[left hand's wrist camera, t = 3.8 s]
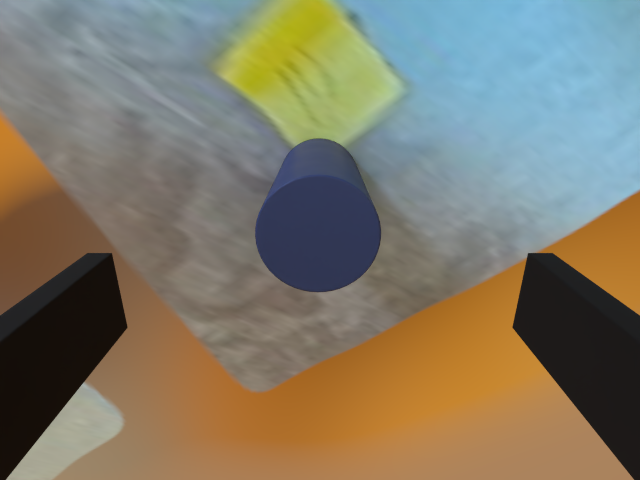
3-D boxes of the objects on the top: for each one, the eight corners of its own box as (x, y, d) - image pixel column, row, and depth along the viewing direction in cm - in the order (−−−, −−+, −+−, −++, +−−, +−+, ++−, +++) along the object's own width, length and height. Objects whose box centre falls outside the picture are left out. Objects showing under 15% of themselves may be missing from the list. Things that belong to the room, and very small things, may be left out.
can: (370, 157, 28) (403, 205, 17) (338, 225, 30) (348, 309, 19) (298, 125, 27) (281, 153, 16) (269, 197, 29) (237, 267, 18)
